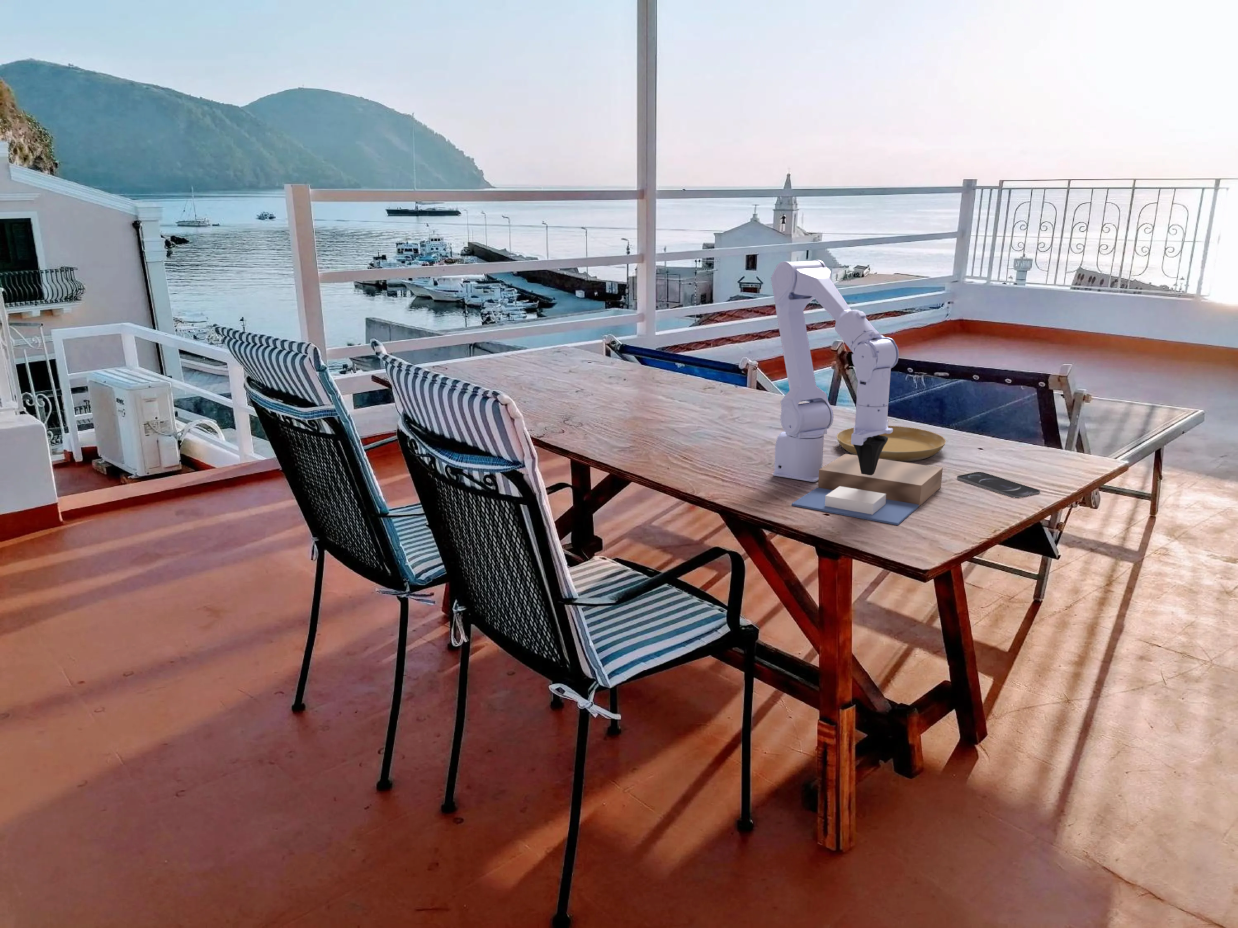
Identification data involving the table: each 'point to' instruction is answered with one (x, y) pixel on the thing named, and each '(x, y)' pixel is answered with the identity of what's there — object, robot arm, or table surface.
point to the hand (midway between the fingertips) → (867, 473)
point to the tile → (855, 500)
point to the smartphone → (998, 484)
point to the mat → (888, 513)
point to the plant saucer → (901, 443)
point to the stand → (883, 478)
